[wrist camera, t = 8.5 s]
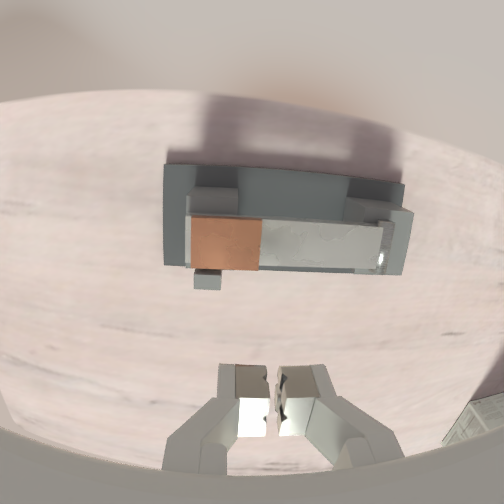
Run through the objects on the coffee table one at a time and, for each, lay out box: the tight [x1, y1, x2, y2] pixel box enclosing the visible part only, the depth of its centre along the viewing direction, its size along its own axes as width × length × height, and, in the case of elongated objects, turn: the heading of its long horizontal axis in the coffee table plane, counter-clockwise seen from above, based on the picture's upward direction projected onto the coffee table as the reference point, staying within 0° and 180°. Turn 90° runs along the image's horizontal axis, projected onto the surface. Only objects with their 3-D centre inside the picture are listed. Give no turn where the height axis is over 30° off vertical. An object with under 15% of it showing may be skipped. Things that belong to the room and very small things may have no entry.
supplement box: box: [441, 392, 504, 447], centre depth 39 cm, size 13×13×18 cm
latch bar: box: [185, 213, 396, 274], centre depth 25 cm, size 17×4×2 cm, turn 86°
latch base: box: [163, 164, 414, 290], centre depth 27 cm, size 24×10×9 cm, turn 86°
